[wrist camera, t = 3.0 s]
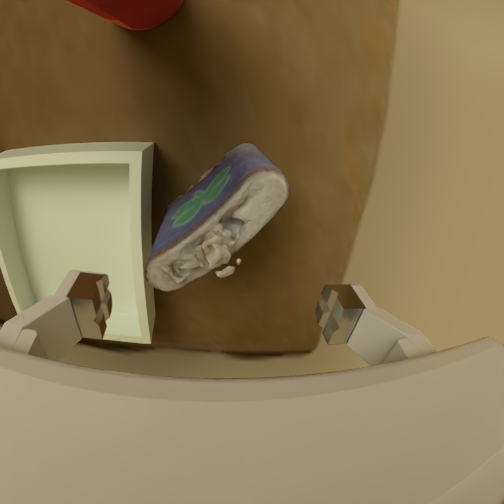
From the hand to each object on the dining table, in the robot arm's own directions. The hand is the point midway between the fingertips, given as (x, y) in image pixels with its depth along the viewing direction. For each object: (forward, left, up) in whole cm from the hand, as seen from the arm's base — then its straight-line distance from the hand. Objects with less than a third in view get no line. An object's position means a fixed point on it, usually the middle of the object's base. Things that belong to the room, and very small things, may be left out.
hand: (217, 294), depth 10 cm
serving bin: (-12, -5, -13) cm, 18 cm away
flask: (0, 0, -13) cm, 13 cm away
